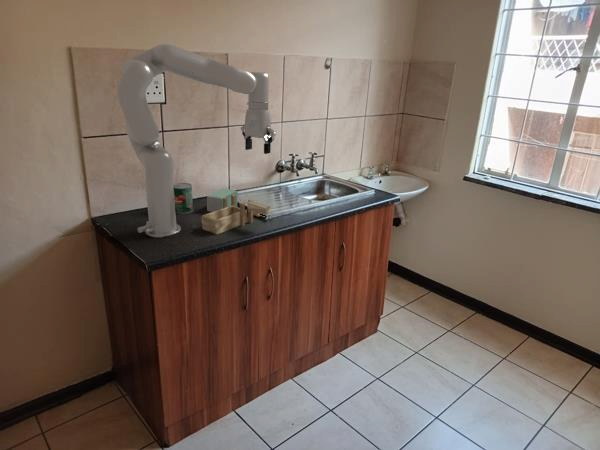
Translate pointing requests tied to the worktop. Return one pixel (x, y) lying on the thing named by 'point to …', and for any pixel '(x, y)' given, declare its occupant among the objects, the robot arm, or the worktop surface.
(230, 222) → the toolbox
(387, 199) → the worktop surface
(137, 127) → the robot arm
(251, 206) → the tan wooden block
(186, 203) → the canned tomato
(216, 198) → the box
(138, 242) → the worktop surface
